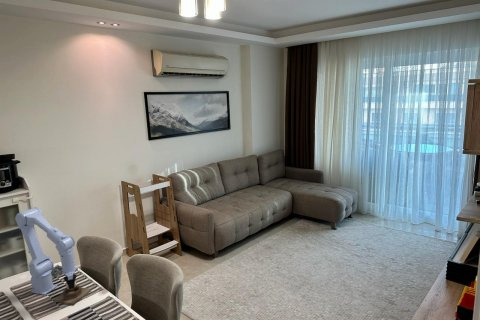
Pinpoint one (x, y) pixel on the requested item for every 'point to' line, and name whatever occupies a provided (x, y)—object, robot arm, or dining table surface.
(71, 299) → the egg stand
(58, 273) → the egg carton
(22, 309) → the dining table surface
